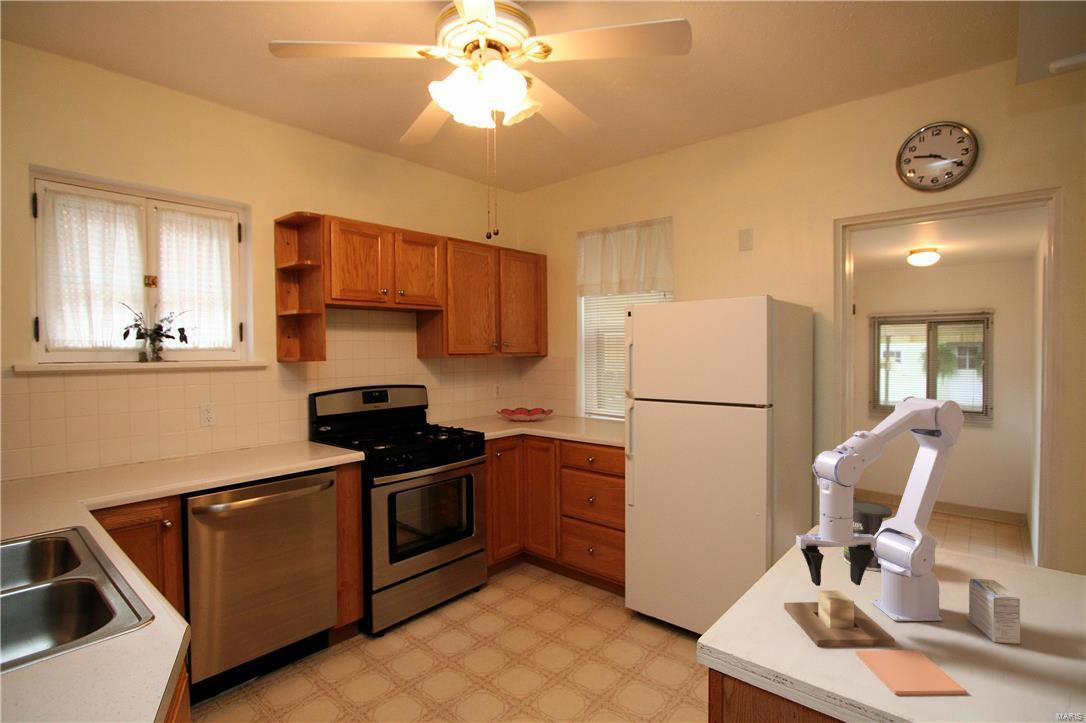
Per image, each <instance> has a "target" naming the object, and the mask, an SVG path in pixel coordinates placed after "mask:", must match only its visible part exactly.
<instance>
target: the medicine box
mask: <svg viewBox="0 0 1086 723" xmlns="http://www.w3.org/2000/svg"><path fill="white" fill-rule="evenodd" d="M968 584H969V585H968V586H969V588H968V590H969V591H968V598H969V599H968V601H969V602H968V604H969V605H968V611H969V612H968V618H969V622H971V623H972V624H973V625H974V626H975V627H977V629H978V630H979V631H981V632H982V633H983V634H984V635H985V636H986V637H987V638H989V639H990V640H991V641H992V642H993V643H998V644H1013V645H1014V644H1015V645H1019V644H1020V643H1021V600H1020V599H1021V598H1020V597H1018V595H1016V594H1015V593H1013V592H1012V591H1010V590H1009V589H1007V588H1006V587H1005V586H1003V585H1002V584H1000V583H999V582H997V581H996V580H995V579H990V578H989V579H988V578H987V579H986V578H969V582H968Z"/></svg>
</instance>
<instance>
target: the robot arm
mask: <svg viewBox="0 0 1086 723" xmlns="http://www.w3.org/2000/svg"><path fill="white" fill-rule="evenodd" d="M964 422H965V416H964V414H963V411H962V409H961V406H960V405H959V403H958V402H956V401H954V400H950V399H949V400H947V399H946V400H945V399H944V400H943V399H933V398H924V397H915V396H912V395H909V396H906V397H903V398H901V400H900V401H899V402H896V403H895V406H894V411H893V412H891V414H889V415H888V416H887V417H886V418H885V419H884V420H882V421H881V422H880V423H878V424H877V425H876V426H875V427H874V428H873V429H872V430H870V431H867V430H857V431H855V432H854V433H852V436H851V437H850V438H848V439H847V440H846V441H844V442H843V443H841V444H838V445H837V446H835V447H836V448H834V449H833V450H824V451H822V452H821V453H819V454H818V455H817V456H816V457H815V460H814V463H813V464H812V466H811V469H812V471H813V472H812V473H813V474H814V475H815V477H816V480H817V481H816V484H817V485H818V486H817V487H819V531H818V532H814V533H808V534H807V533H806V534H799V535H797V534H796V536H795V538H796V539H795V540H796V541H795V545H796V546H797V547H798V548H799V549H800V551H801V553H802V555H803V556H804V560H805V562H806V564H807V567H808V570H809V574H810V578H811V583H813V585H815V586H817V587H820V586H821V585H822V584H821V583H822V564H823V561H824V557H825V555H824V554H823V553H821V552H820V549H819V548H844V547H848V549H849V555H850V564H849V569H850V571H849V572H850V573H849V576H850V582H852V583H853V584H854V585H855V586H861V583H862V581H863V580H862V579H863V576H864V575H865V572H866V570H865V569H866V567H867V566H868V564H869V562H870V561H871V560H872V558H873V557H874V555H875V556H876V557H878V563H880V564H881V571H880V573H881V574H880V575H881V576H880V599H871V603H872V604H873V605H874V606H875V607H876V608H878V609H879V610H880V611H882V612H883V613H885V615H886V616H888V617H889V618H890V619H891V620H892V621H894V622H895V621H896V622H918V621H919V622H920V621H921V622H925V621H926V622H927V621H928V622H930V621H934V622H935V621H943V618H942V616H940V584H939V581H938V578H937V576H936V575H935V573H934V572H933V571H932V570H933V568H934V566H935V562H936V548H937V547H936V546H937V544H938V541H937V540H936V538H934V536H933V534H931V532H930V531H929V530H928V524H929V522H930V519H931V515H932V513H933V509H934V506H935V504H936V500H937V497H938V494H939V491H940V490H941V485H942V483H943V480H944V477H945V474H946V472H947V469H948V465H949V462H950V459H951V457H952V453H953V450H954V447H955V445H957V443H958V439H959V438H960V437H959V436H960V435H961V433H962V432H961V431H962V428H963V425H964ZM906 433H908V434H910V436H911V437H912V438H913V439H915V440H916V441H917V442H918V444H919V449H918V451H917V454H916V457H915V460H914V462H913V466H912V469H911V471H910V474H909V477H908V480H907V482H906V486H905V489H904V492H903V495H902V498H901V501H900V502H899V506H898V510H897V512H896V514H895V516H894V517H892V518H891V519H888V520H886V521H883V522H882V525H881V527H880V529H879V531H878V532H877V533H876V534H875V535H874V536H872V535H870V534H854V533H853V501H854V485H855V484H857V483H858V482H859V480H860V479H861V476H862V473H863V472H865V469H866V468H867V467H868V466H869V465H870V464H872V463H873V462H874V461H876V460H877V459H879V458H880V457H881V456H883V454H884V453H885V445H888V444H889V443H891V442H892V441H894V440H896V439H897V438H899V437H901V436H902V435H904V434H906ZM904 535H906V536H904ZM907 536H909V537H907ZM910 537H912V538H910ZM913 538H914V539H913ZM871 548H872V549H871Z"/></svg>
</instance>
